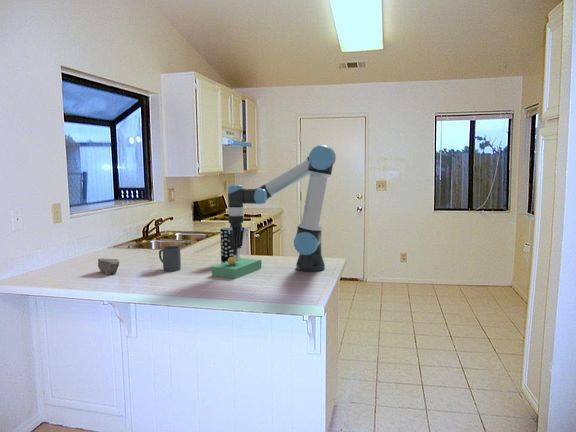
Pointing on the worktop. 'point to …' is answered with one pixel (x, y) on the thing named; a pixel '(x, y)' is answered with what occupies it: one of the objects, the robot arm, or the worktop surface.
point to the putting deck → (236, 268)
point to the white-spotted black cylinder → (225, 246)
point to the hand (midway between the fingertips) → (236, 260)
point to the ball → (231, 260)
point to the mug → (171, 258)
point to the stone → (108, 266)
